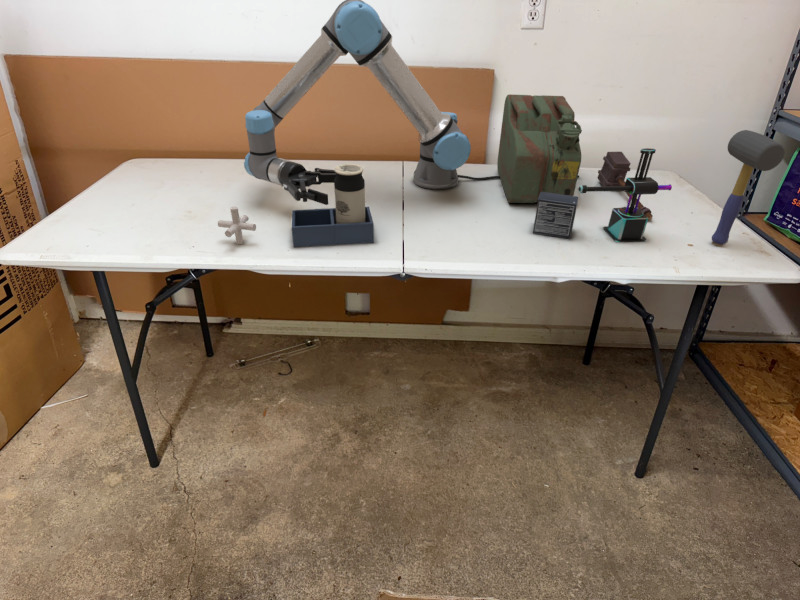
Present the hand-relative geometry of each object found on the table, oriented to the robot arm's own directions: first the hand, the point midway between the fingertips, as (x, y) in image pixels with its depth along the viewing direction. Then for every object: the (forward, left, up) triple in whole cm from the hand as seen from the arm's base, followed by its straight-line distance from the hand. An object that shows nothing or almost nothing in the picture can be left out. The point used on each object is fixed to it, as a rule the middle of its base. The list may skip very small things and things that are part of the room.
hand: (344, 191), depth 140 cm
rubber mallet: (-101, +19, -12) cm, 104 cm away
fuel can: (-64, -27, -12) cm, 71 cm away
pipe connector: (+29, +2, -12) cm, 31 cm away
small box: (-58, +6, -12) cm, 60 cm away
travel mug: (-1, +1, -11) cm, 11 cm away
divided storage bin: (+4, +1, -12) cm, 13 cm away
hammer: (-91, -13, -12) cm, 93 cm away
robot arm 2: (-73, +10, -12) cm, 75 cm away
